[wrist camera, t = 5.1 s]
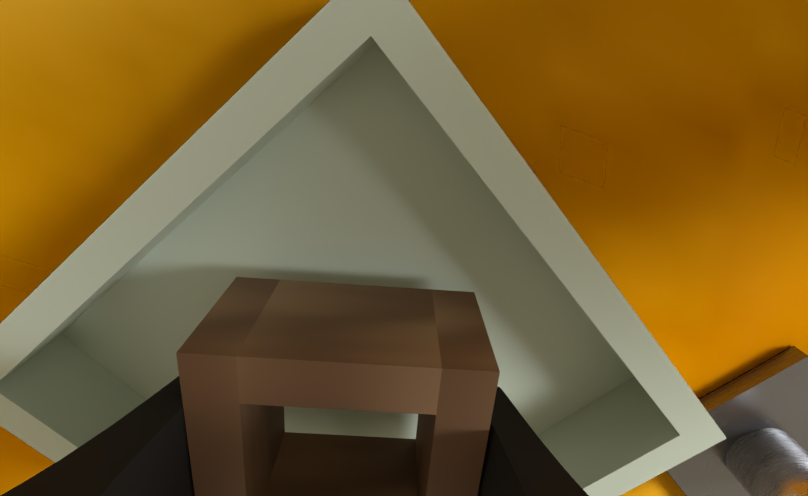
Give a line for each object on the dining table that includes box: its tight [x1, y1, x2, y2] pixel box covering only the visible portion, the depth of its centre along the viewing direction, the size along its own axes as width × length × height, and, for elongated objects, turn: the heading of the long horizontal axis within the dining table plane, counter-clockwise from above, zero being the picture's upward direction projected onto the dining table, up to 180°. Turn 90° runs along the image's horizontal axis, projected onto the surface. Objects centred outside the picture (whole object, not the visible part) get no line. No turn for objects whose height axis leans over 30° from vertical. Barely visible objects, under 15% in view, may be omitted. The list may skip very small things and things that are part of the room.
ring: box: [176, 277, 500, 496], centre depth 10 cm, size 6×6×3 cm
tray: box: [0, 0, 727, 496], centre depth 12 cm, size 13×13×3 cm
